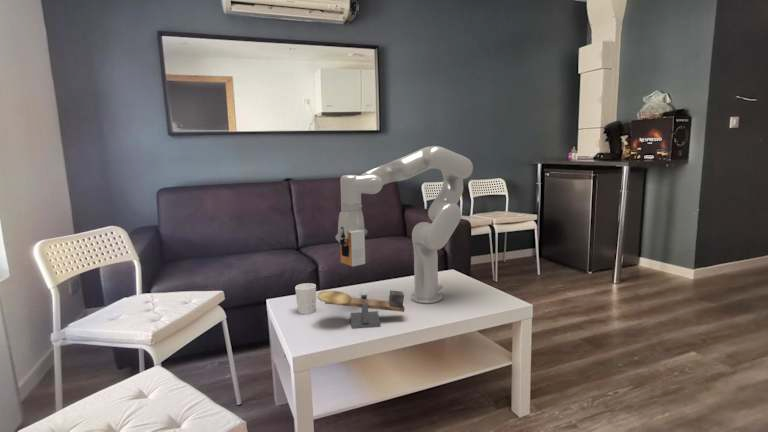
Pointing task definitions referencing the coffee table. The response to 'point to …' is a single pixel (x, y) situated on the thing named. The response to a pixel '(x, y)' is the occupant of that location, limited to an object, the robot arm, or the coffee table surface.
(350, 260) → the small box
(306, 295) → the white cup
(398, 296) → the beam
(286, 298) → the coffee table surface
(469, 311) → the coffee table surface
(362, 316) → the beam stand
